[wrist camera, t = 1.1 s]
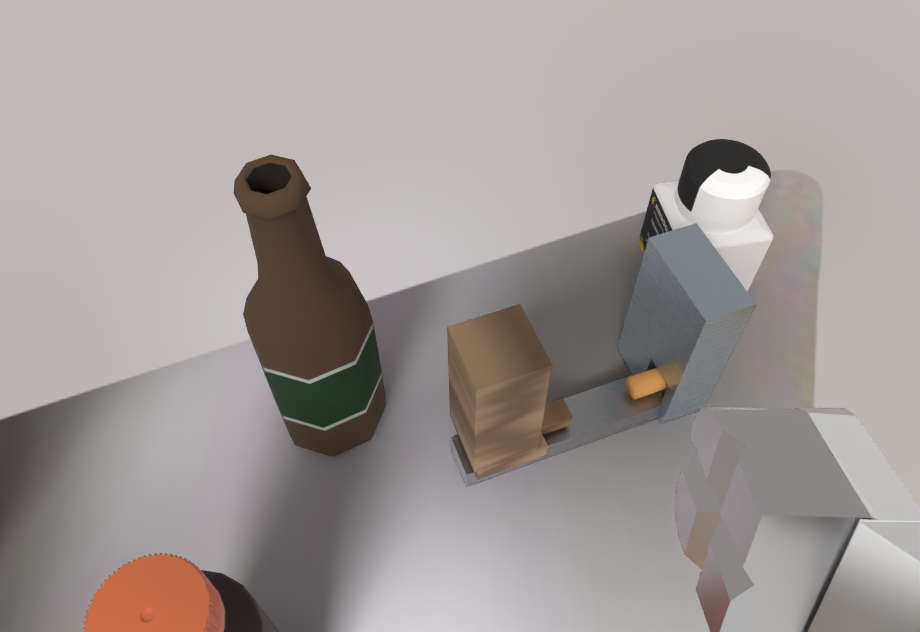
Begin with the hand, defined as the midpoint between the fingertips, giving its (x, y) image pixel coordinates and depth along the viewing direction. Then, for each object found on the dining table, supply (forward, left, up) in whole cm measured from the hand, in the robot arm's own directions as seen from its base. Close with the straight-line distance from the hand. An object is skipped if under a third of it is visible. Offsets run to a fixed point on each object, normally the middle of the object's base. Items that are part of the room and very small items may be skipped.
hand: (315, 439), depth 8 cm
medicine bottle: (+33, +28, -44) cm, 62 cm away
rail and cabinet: (+17, +19, -44) cm, 51 cm away
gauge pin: (+24, +18, -42) cm, 51 cm away
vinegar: (-8, +8, -44) cm, 46 cm away
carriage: (+12, +18, -42) cm, 47 cm away
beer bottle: (+1, +25, -44) cm, 51 cm away
